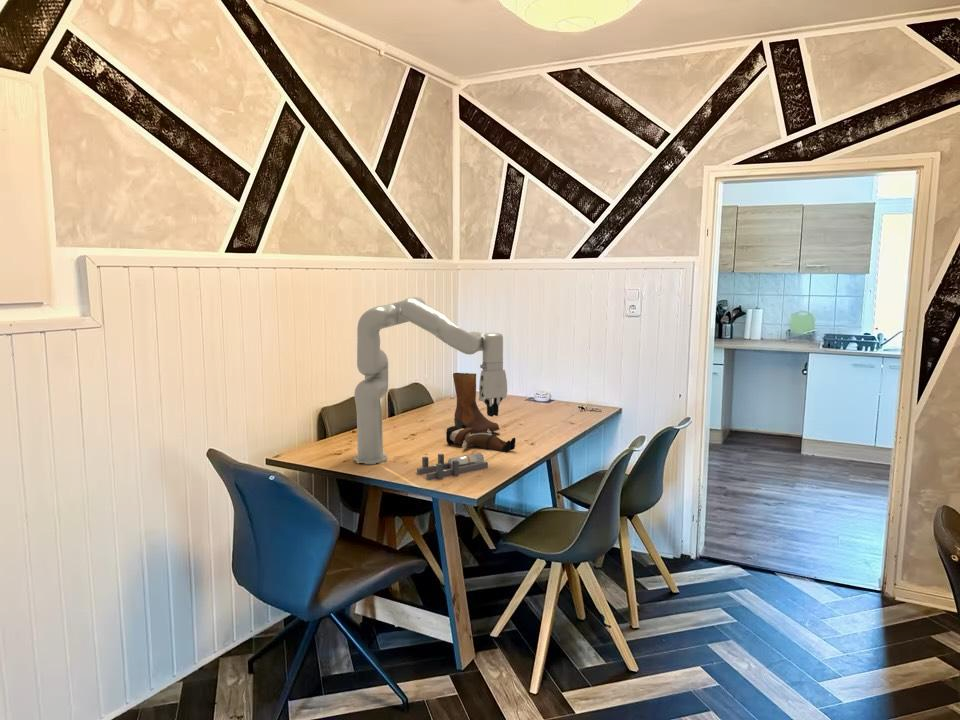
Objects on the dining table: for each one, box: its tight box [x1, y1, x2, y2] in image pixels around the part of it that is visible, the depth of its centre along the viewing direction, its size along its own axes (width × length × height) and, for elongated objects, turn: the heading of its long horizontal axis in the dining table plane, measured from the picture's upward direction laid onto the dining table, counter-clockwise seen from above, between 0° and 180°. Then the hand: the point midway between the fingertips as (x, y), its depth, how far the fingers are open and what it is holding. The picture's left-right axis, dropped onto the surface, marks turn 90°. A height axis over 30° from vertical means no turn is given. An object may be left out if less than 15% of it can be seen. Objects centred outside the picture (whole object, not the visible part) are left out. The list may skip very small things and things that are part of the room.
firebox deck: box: [414, 453, 491, 483], centre depth 227 cm, size 12×25×6 cm, turn 124°
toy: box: [445, 425, 517, 454], centre depth 260 cm, size 24×10×30 cm
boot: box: [452, 372, 501, 434], centre depth 288 cm, size 25×9×27 cm, turn 43°
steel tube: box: [447, 452, 485, 469], centre depth 231 cm, size 13×4×5 cm, turn 124°
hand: (492, 415), depth 235 cm, fingers closed
